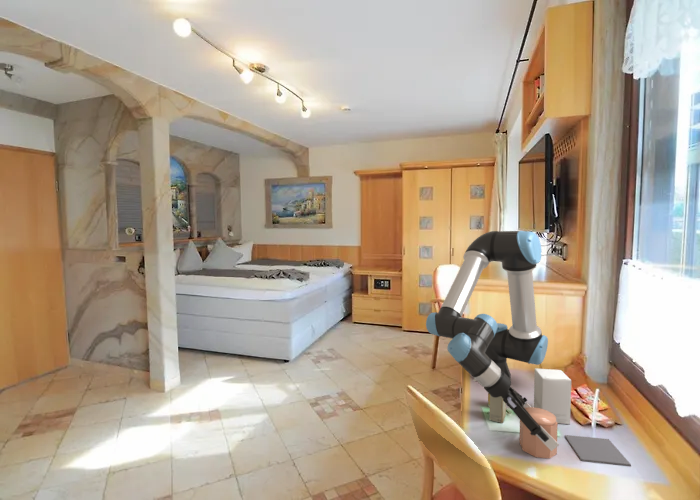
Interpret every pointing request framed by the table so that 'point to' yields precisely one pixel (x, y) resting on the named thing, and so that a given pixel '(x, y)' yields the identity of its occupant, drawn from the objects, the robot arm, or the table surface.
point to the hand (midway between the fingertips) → (546, 433)
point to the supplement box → (553, 393)
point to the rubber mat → (596, 450)
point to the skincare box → (497, 409)
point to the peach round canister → (532, 442)
